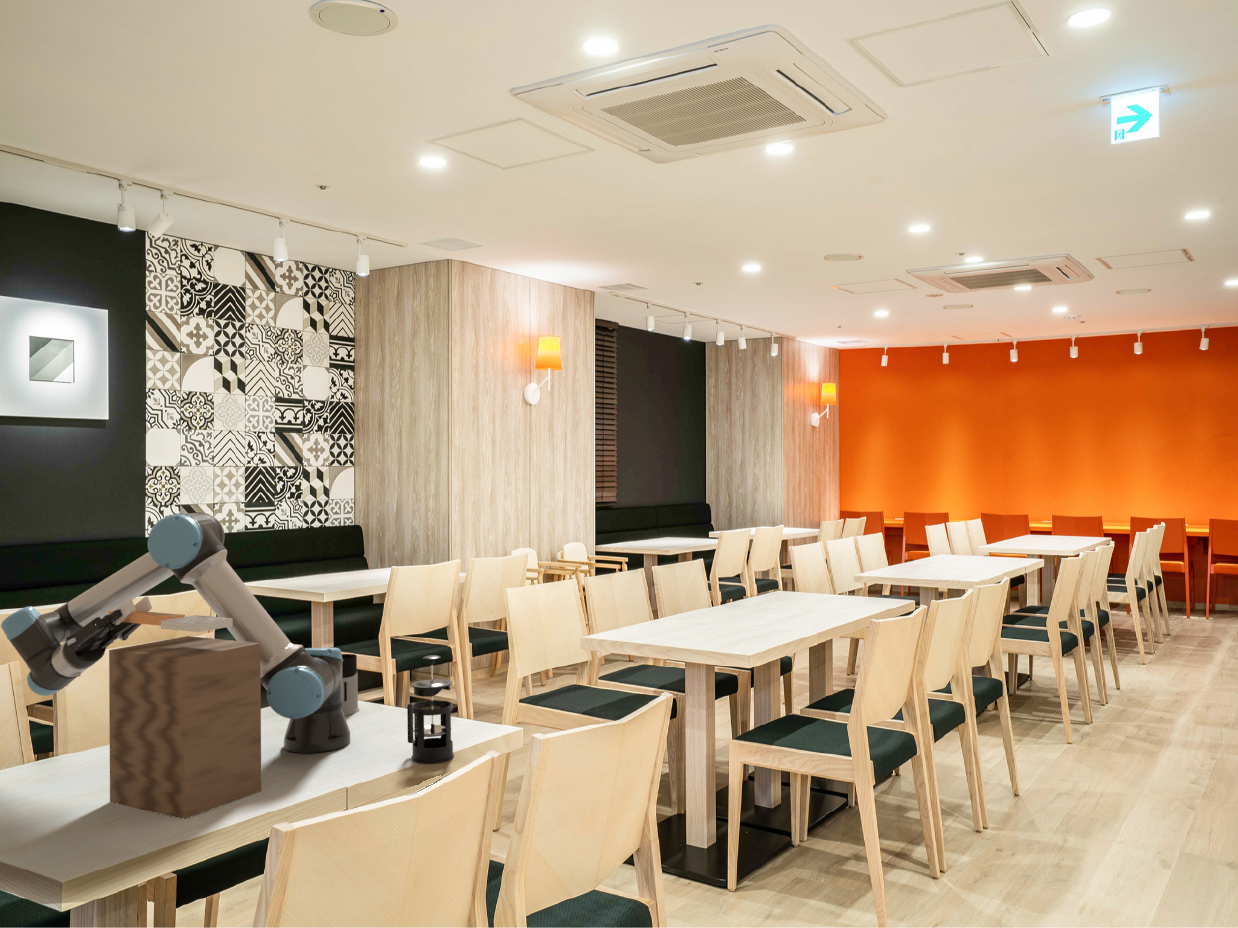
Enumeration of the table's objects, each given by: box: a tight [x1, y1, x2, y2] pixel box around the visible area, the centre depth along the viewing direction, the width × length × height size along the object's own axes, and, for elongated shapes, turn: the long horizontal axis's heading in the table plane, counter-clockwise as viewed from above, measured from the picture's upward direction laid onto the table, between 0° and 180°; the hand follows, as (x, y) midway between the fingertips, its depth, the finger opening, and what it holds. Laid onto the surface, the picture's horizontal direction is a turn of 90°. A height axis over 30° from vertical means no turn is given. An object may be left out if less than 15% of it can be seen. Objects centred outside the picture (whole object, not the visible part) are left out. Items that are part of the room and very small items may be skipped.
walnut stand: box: [108, 635, 262, 820], centre depth 192 cm, size 22×18×30 cm
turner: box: [108, 611, 233, 633], centre depth 195 cm, size 31×8×2 cm, turn 62°
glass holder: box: [342, 653, 360, 716], centre depth 258 cm, size 9×14×15 cm, turn 2°
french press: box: [406, 654, 455, 765], centre depth 216 cm, size 12×9×23 cm
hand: (140, 603), depth 198 cm, fingers closed on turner, 3 cm apart
